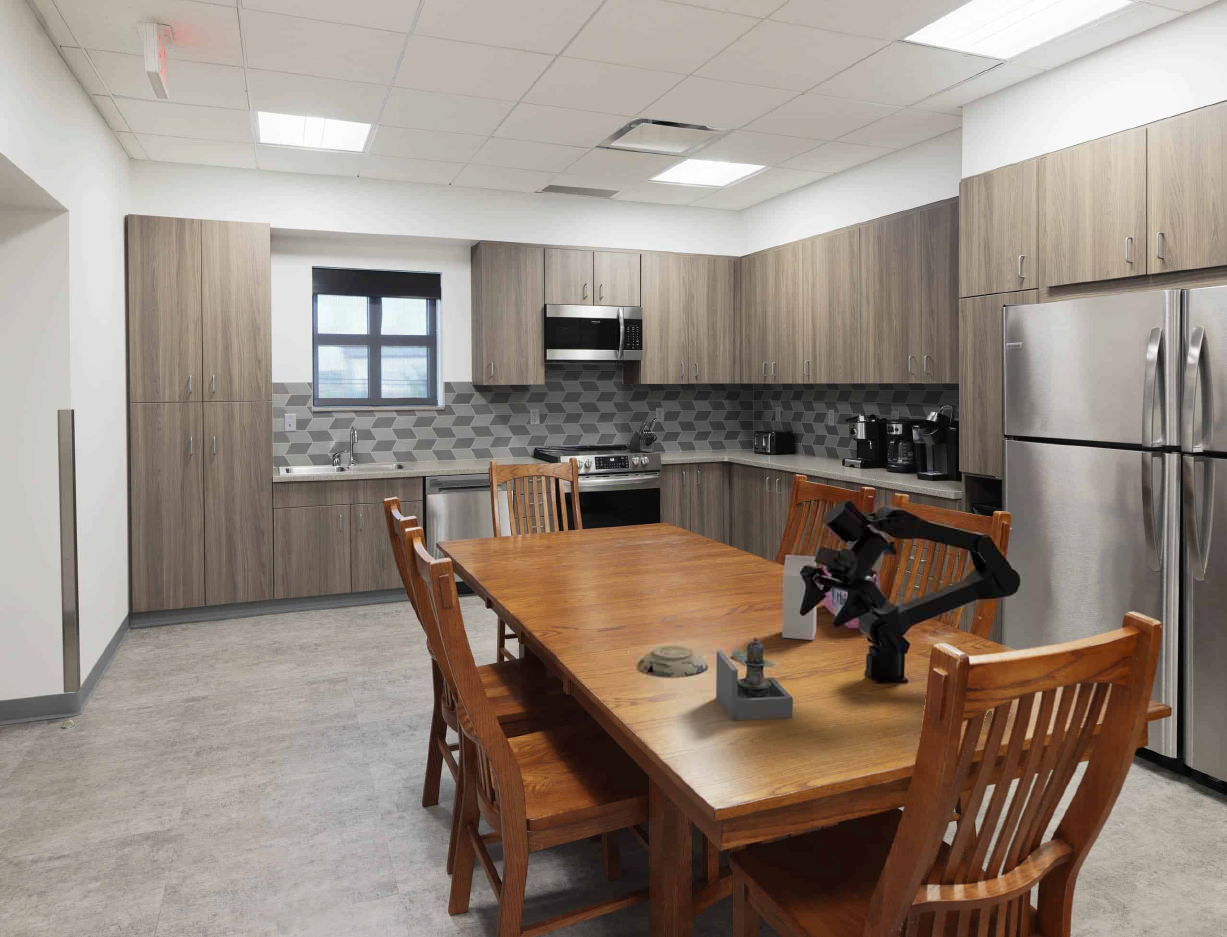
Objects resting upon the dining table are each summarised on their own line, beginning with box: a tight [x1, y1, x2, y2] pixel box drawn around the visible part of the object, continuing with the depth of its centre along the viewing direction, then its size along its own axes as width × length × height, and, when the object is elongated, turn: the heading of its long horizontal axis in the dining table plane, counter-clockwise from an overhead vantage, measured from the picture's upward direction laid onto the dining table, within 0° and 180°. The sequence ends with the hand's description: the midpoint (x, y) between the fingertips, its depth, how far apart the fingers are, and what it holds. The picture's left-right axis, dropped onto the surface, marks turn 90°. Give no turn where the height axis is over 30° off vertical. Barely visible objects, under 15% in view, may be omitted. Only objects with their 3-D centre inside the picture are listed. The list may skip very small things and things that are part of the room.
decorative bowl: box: [637, 645, 709, 678], centre depth 173 cm, size 15×4×15 cm
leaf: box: [731, 650, 776, 669], centre depth 171 cm, size 20×8×1 cm, turn 12°
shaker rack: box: [715, 650, 794, 721], centre depth 149 cm, size 11×11×9 cm
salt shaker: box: [738, 637, 771, 698], centre depth 149 cm, size 6×6×12 cm
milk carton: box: [781, 554, 818, 641], centre depth 194 cm, size 7×7×19 cm
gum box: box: [822, 565, 881, 629], centre depth 211 cm, size 24×8×14 cm, turn 2°
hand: (817, 620), depth 158 cm, fingers open, 9 cm apart
